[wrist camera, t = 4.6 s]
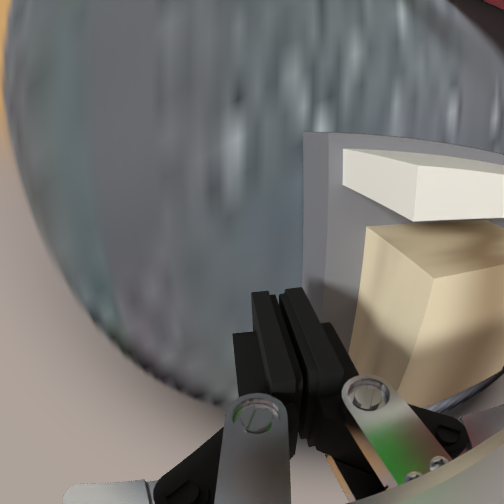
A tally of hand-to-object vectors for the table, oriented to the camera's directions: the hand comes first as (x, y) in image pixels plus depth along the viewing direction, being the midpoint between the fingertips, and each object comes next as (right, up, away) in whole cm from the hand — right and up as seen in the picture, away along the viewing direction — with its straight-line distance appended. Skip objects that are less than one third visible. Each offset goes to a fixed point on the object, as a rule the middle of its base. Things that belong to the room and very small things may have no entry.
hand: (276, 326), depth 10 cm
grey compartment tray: (+17, +3, +5) cm, 18 cm away
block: (+7, +1, +1) cm, 7 cm away
